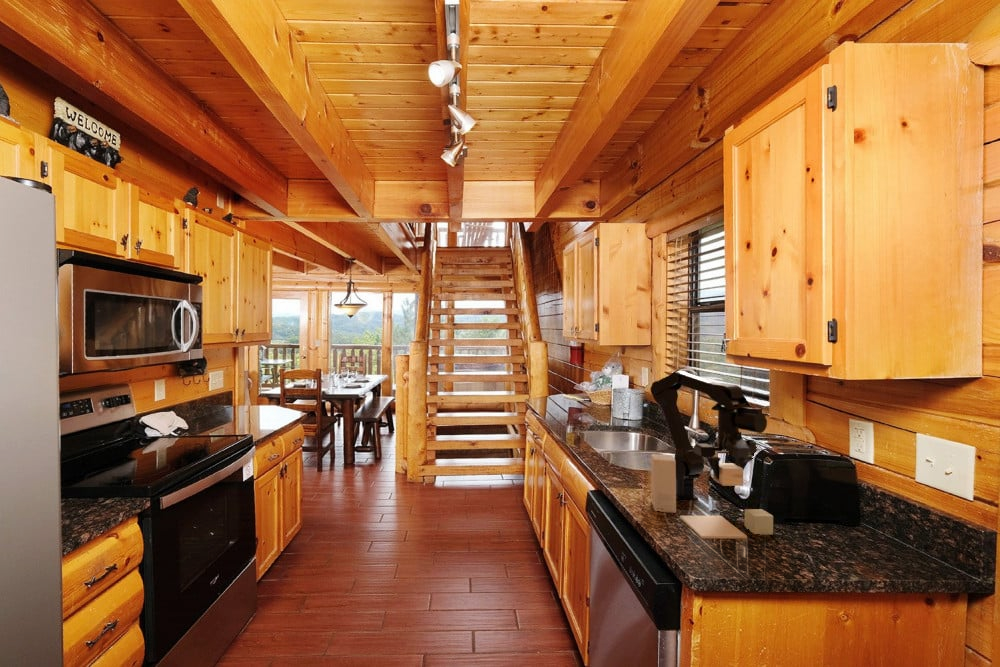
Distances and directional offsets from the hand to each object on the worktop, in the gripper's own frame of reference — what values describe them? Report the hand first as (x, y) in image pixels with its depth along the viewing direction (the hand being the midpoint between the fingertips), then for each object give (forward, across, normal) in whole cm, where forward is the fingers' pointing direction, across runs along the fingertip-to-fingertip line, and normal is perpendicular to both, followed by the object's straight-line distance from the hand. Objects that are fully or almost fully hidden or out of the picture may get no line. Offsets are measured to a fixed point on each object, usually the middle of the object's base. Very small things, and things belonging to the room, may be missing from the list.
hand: (727, 478), depth 144 cm
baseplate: (+10, -10, -11) cm, 18 cm away
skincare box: (+10, -18, +4) cm, 21 cm away
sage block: (+10, +2, -13) cm, 17 cm away
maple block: (+1, 0, 0) cm, 1 cm away
